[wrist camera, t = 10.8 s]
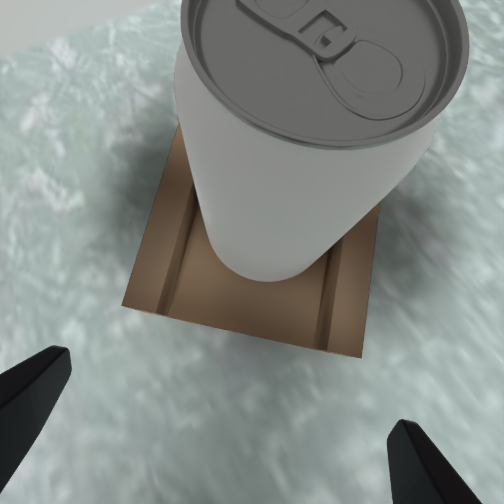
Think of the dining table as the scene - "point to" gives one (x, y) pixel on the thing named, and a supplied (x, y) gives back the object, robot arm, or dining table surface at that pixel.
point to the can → (308, 116)
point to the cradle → (243, 289)
